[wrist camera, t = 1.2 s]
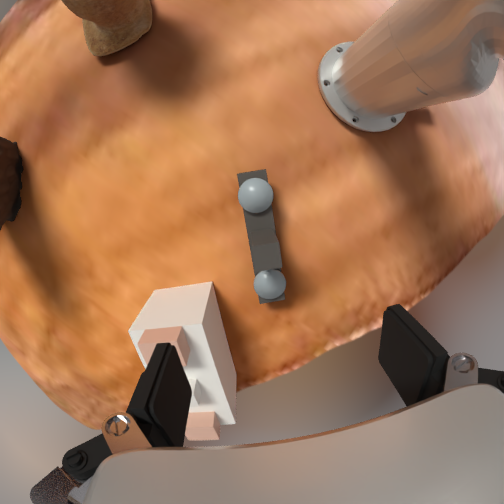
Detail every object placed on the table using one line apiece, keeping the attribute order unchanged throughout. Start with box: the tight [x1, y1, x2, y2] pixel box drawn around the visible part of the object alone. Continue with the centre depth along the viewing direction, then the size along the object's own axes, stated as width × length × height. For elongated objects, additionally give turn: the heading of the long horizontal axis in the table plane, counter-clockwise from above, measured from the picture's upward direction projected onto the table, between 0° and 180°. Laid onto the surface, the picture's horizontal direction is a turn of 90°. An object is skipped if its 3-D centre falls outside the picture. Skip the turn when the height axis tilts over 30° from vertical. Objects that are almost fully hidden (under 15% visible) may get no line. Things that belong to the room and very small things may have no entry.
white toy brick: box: [128, 282, 237, 440], centre depth 31 cm, size 8×16×12 cm, turn 9°
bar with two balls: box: [237, 169, 286, 304], centre depth 28 cm, size 4×15×9 cm, turn 9°
